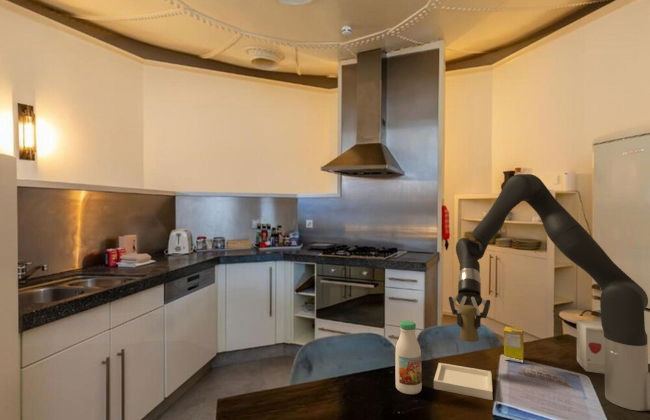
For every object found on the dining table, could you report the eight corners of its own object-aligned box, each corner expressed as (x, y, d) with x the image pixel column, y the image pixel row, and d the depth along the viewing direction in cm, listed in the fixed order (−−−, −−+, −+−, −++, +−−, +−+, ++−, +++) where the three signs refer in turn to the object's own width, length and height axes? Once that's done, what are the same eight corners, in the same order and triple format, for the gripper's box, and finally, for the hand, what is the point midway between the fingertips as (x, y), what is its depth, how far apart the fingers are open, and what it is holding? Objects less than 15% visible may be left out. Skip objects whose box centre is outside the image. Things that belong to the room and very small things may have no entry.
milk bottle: (390, 389, 103) (390, 322, 104) (403, 380, 109) (403, 317, 109) (413, 398, 98) (413, 328, 98) (426, 388, 104) (425, 322, 104)
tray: (491, 378, 109) (491, 371, 109) (492, 400, 96) (492, 391, 97) (439, 369, 116) (438, 362, 116) (433, 388, 103) (433, 380, 103)
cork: (476, 343, 111) (475, 309, 111) (457, 339, 114) (456, 306, 115) (481, 337, 115) (480, 305, 116) (462, 334, 119) (461, 302, 119)
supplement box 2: (585, 371, 114) (584, 326, 114) (576, 361, 122) (575, 319, 122) (619, 376, 111) (618, 329, 111) (607, 364, 119) (606, 321, 119)
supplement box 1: (523, 358, 125) (523, 328, 125) (523, 364, 120) (522, 333, 120) (505, 354, 128) (505, 325, 128) (504, 360, 123) (503, 330, 123)
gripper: (447, 276, 125) (444, 318, 114) (491, 278, 119) (492, 323, 108) (449, 288, 130) (446, 329, 118) (491, 291, 124) (492, 335, 112)
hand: (468, 326), depth 113 cm, fingers closed on cork, 4 cm apart
